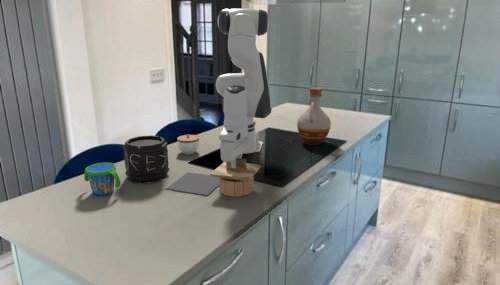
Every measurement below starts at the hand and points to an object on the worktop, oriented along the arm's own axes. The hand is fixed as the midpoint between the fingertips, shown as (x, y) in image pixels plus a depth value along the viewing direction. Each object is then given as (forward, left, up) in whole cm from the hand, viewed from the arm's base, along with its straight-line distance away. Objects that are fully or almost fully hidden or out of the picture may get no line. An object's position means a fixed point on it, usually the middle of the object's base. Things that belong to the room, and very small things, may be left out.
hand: (236, 165), depth 142 cm
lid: (0, 0, -3) cm, 2 cm away
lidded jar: (-34, -39, -10) cm, 53 cm away
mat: (0, -17, -10) cm, 20 cm away
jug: (-70, +17, -10) cm, 73 cm away
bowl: (0, 0, -10) cm, 10 cm away
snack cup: (+19, -47, -10) cm, 52 cm away
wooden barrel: (0, -40, -10) cm, 41 cm away
